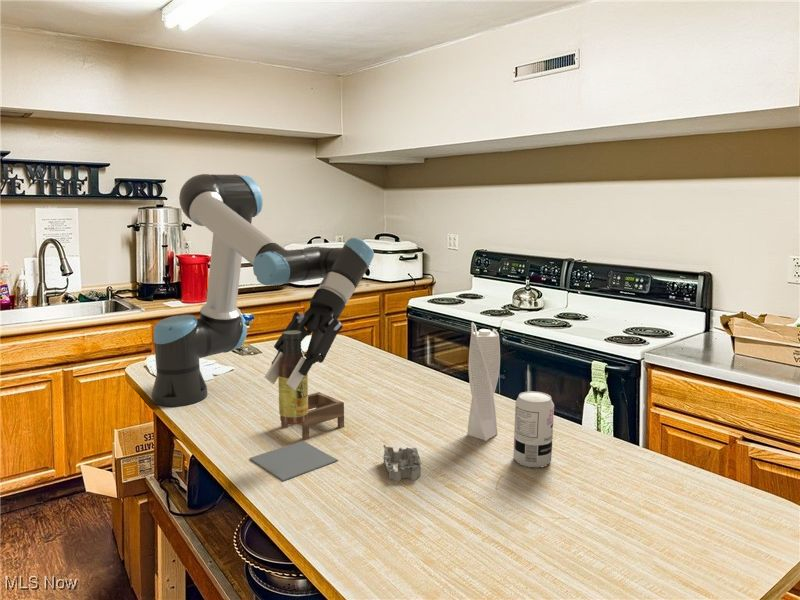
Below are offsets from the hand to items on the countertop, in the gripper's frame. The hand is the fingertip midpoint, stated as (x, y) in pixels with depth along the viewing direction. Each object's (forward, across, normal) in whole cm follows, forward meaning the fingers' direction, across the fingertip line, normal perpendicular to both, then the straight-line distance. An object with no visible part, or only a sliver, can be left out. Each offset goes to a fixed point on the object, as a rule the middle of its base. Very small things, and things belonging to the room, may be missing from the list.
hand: (279, 383), depth 126 cm
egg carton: (+3, -21, -24) cm, 32 cm away
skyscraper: (-16, -25, -43) cm, 52 cm away
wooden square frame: (0, +11, -27) cm, 29 cm away
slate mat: (+11, +1, -16) cm, 19 cm away
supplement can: (-12, -42, -39) cm, 58 cm away
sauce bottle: (+4, 0, -9) cm, 10 cm away
